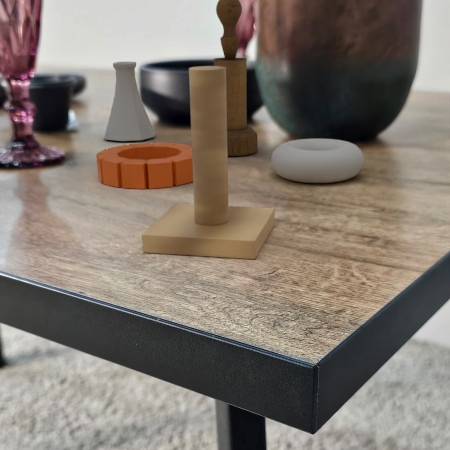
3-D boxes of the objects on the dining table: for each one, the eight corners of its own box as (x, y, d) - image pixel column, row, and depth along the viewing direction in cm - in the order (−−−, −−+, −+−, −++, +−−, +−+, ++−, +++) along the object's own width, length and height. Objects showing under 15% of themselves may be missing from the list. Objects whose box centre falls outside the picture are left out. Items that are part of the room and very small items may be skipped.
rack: (142, 252, 58) (130, 74, 53) (175, 219, 66) (168, 61, 61) (255, 259, 56) (254, 74, 51) (274, 224, 64) (276, 62, 59)
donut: (262, 169, 84) (282, 188, 75) (262, 138, 83) (282, 155, 74) (347, 164, 86) (376, 183, 77) (348, 134, 84) (378, 149, 75)
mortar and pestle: (266, 148, 94) (266, -5, 87) (243, 158, 89) (242, -4, 82) (220, 144, 97) (216, -4, 90) (195, 154, 92) (190, -3, 85)
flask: (162, 133, 105) (158, 60, 101) (146, 143, 99) (141, 65, 95) (114, 132, 107) (109, 59, 103) (95, 142, 100) (88, 65, 96)
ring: (83, 186, 78) (80, 162, 77) (120, 163, 88) (119, 141, 87) (185, 190, 75) (184, 165, 74) (212, 166, 85) (211, 143, 84)
